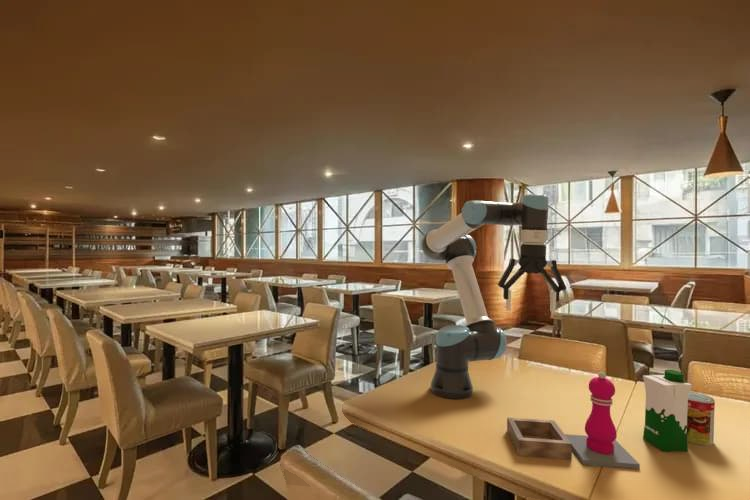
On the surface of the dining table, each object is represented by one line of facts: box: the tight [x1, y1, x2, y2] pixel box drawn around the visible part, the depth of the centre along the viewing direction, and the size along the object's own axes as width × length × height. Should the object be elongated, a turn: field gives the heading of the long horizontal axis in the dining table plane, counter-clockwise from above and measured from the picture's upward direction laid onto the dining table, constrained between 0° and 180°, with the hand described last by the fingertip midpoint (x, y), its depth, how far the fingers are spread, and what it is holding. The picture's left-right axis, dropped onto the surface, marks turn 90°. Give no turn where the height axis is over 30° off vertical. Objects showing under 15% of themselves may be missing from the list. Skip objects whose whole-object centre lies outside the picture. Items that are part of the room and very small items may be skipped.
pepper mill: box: [584, 371, 618, 454], centre depth 101 cm, size 7×7×20 cm
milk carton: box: [642, 369, 693, 453], centre depth 106 cm, size 9×9×20 cm
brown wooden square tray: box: [506, 416, 573, 460], centre depth 105 cm, size 13×13×4 cm
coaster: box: [564, 433, 641, 470], centre depth 101 cm, size 13×13×1 cm
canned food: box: [687, 391, 716, 447], centre depth 109 cm, size 8×8×12 cm
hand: (530, 310), depth 122 cm, fingers open, 13 cm apart
